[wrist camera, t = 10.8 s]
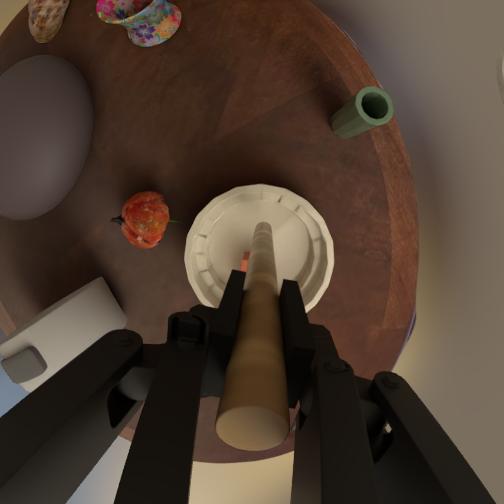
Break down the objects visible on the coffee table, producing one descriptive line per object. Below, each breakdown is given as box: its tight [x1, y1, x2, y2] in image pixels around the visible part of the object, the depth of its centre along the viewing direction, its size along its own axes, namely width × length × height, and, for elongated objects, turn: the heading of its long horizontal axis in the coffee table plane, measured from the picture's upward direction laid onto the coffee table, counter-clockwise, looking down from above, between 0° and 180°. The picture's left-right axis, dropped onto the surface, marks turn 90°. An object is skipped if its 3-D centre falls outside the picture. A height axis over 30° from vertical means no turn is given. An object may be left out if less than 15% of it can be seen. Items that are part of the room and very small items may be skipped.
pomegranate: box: [110, 191, 182, 248], centre depth 37 cm, size 7×7×10 cm
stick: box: [215, 221, 290, 451], centre depth 21 cm, size 2×2×30 cm
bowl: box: [184, 183, 334, 313], centre depth 38 cm, size 18×18×6 cm
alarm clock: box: [0, 277, 127, 392], centre depth 35 cm, size 21×8×20 cm, turn 116°
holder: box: [330, 86, 394, 139], centre depth 30 cm, size 4×4×12 cm
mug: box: [96, 0, 181, 47], centre depth 28 cm, size 12×9×11 cm
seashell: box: [28, 0, 70, 43], centre depth 29 cm, size 10×9×10 cm
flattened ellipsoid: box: [0, 55, 94, 220], centre depth 31 cm, size 25×25×15 cm
